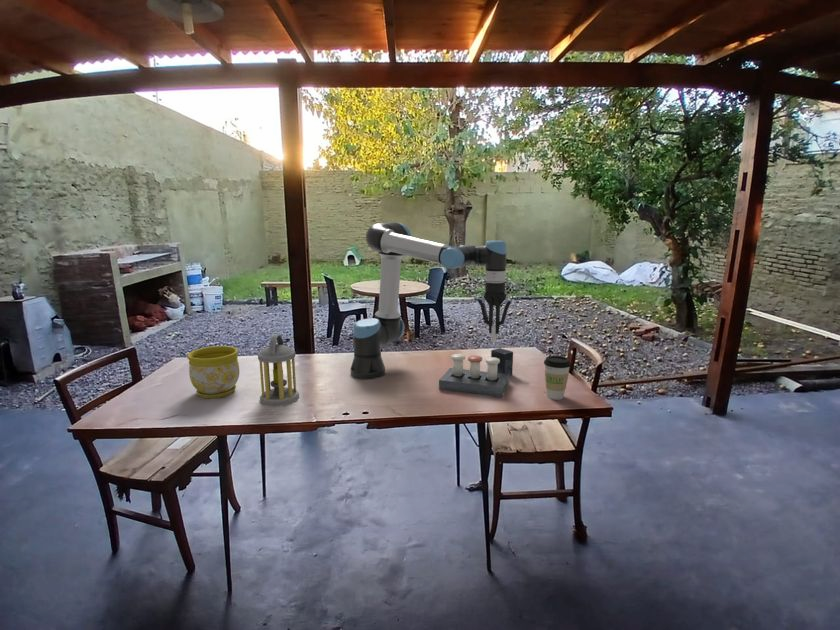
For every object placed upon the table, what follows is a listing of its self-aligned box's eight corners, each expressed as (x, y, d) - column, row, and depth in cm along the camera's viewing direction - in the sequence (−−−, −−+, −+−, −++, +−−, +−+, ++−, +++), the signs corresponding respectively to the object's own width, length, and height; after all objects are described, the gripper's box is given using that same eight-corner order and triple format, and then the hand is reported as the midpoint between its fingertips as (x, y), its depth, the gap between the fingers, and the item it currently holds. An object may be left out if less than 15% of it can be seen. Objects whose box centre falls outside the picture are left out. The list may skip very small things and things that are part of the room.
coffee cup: (536, 394, 183) (538, 356, 180) (557, 390, 187) (559, 353, 184) (553, 403, 174) (555, 364, 171) (574, 399, 178) (577, 361, 175)
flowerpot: (218, 404, 174) (214, 361, 170) (180, 397, 180) (175, 356, 177) (251, 387, 190) (248, 348, 187) (215, 382, 197) (212, 343, 193)
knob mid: (466, 378, 189) (466, 358, 187) (469, 373, 194) (470, 355, 192) (480, 379, 187) (480, 360, 185) (483, 375, 192) (483, 356, 190)
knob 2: (483, 380, 186) (484, 360, 185) (486, 375, 192) (487, 356, 190) (497, 381, 184) (498, 362, 183) (500, 377, 190) (500, 358, 188)
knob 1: (449, 376, 191) (449, 357, 189) (453, 371, 196) (453, 353, 194) (462, 377, 189) (463, 358, 187) (466, 373, 194) (466, 354, 193)
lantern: (267, 391, 186) (263, 329, 181) (303, 391, 186) (300, 330, 180) (254, 405, 172) (248, 339, 167) (292, 406, 172) (288, 339, 167)
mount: (438, 389, 188) (439, 380, 187) (450, 376, 203) (450, 367, 202) (501, 397, 180) (502, 387, 179) (508, 383, 194) (509, 374, 194)
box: (512, 374, 205) (513, 351, 203) (503, 377, 202) (504, 353, 199) (498, 370, 211) (499, 347, 209) (490, 373, 207) (490, 349, 205)
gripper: (476, 282, 178) (475, 342, 183) (510, 283, 174) (509, 345, 179) (480, 279, 185) (479, 338, 190) (514, 281, 181) (512, 340, 186)
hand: (493, 341), depth 185 cm, fingers closed
